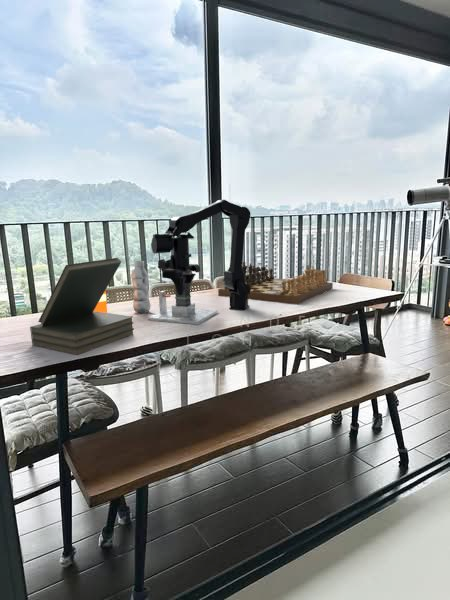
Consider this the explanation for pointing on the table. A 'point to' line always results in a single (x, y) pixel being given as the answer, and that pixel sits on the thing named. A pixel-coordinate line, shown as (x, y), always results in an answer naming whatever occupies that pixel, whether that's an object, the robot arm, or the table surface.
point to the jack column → (183, 296)
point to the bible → (80, 311)
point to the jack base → (180, 312)
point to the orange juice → (102, 304)
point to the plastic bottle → (140, 288)
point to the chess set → (282, 285)
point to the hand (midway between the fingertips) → (182, 294)
